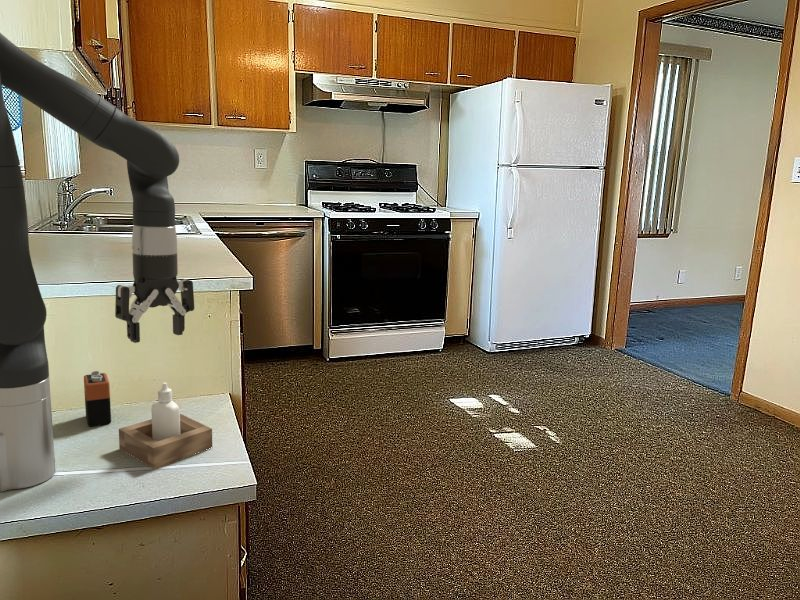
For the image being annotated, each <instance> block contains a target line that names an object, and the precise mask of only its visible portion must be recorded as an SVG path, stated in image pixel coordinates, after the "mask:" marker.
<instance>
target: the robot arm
mask: <svg viewBox="0 0 800 600" xmlns="http://www.w3.org/2000/svg"><path fill="white" fill-rule="evenodd" d="M2 86H3V87H5V88H6V89H9V90H10V91H12V92H14V93H16V94H17V95H19V96H20V97H22V98H24V99H25V100H27V101H29V103H32V104H33V105H35V106H37V108H40V110H42V111H43V112H45V113H47V114H48V115H49V116H51V117H53V118H54V119H56V120H57V121H59V122H60V123H62V125H63V124H64V126H66V127H68V128H69V129H71V130H73V131H74V132H76V133H77V134H79V135H80V136H81V137H83V138H85V139H87V140H88V141H90V142H91V143H93V144H94V145H96V146H98V147H100V148H102V149H105V150H107V151H110V152H113V153H114V154H117V155H119V156H120V157H121V158H123V159H124V160H126V169H127V176H128V181H129V186H130V192H131V196H132V236H131V237H132V238H131V250H132V276H133V279H134V280H133V284H132V285H122V284H118V285H116V287H115V303H114V305H115V312H114V316H115V318H116V319H119V320H121V321H125V322H126V336H127V337H126V338H128V339H129V340H130V342H131V343H134V344H137V343H140V342H141V333H140V332H141V331H140V329H141V328H140V322H139V320H140V318H141V317H143V314H145V313H146V312H147V310H148V309H149V308H151V309H152V308H157V307H159V306H161V307H165V306H166V307H167V306H168V307H169V309H170V310H171V311H172V312H173V313H174V314H172V333H173V335H176V336H183V332H185V328H186V327H185V324H186V323H185V322H186V321H185V318H186V316H185V315H186V314H187V313H189V312H194V310H195V296H194V295H195V294H194V282H193V281H192V280H190V279H187V278H181V279H180V280H177V276H178V274H179V273H178V271H179V270H178V236H177V232H176V205H175V198H174V197H173V196H172V194H171V193H170V191H169V182H168V181H169V179H168V177H169V176H171V175H173V174H174V173H175V172H176V170H177V169H178V168H179V165H180V154H179V151H178V150H177V148H176V146H175V145H174V144H173V142H171V141H170V140H169V139H168V138H167V137H165V136H163V135H162V134H160V132H157V131H156V130H155V129H152V128H150V127H149V126H147V125H145V124H143V123H141V122H140V121H139V120H137V119H136V120H135V118H131V117H130V116H128V115H127V114H126V113H124V112H123V111H122V110H120V109H119V108H118V107H116V106H115V105H114V104H112V103H111V102H109V101H107V100H106V99H105V98H103V97H102V96H100V95H99V94H98V93H96V92H94V91H93V90H91V89H90V88H88V87H87V86H85V85H84V84H81V83H80V82H78V81H77V80H75V79H73V78H70V77H68V76H67V75H65V74H63V73H62V72H59V71H57V70H55V69H53V68H52V67H50V66H48V65H46V64H44V63H43V62H41V61H39V60H38V59H37V58H34V57H32V55H29V54H28V53H26V52H25V51H24V50H22V49H21V48H20V47H19V46H17V45H16V44H14V43H13V42H12V41H11V40H9V39H8V38H7V37H6V36H5V35H4V34H3V33H1V32H0V492H5V491H9V490H18V489H25V488H29V487H34V486H37V485H40V484H42V483H44V482H46V481H47V480H50V479H51V478H52V477H53V476H54V475H55V473H56V457H55V455H56V454H55V443H54V431H53V430H54V429H53V428H54V427H53V415H52V414H53V413H52V398H51V383H50V382H51V381H50V368H49V358H48V354H47V348H46V346H47V345H46V339H45V323H46V320H47V315H48V314H47V307H46V303H45V302H44V299H43V296H42V294H41V291H40V287H39V284H38V281H37V277H36V273H35V269H34V266H33V262H32V258H31V251H30V242H29V222H28V221H29V219H28V209H27V200H26V191H25V184H24V179H23V175H22V174H23V173H22V169H21V162H20V158H19V157H20V156H19V154H18V149H17V145H16V140H15V136H14V133H13V129H12V125H11V121H10V118H9V117H10V116H9V115H8V111H7V107H6V104H5V99H4V94H3V88H2ZM178 290H179V292H180V300H181V301H180V300H179V299H178V297H177V296H176V293H177V291H178ZM132 295H135V298H134V299H133V301H132V303H131V304H130V298H132Z"/></svg>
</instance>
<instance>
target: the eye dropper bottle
mask: <svg viewBox="0 0 800 600" xmlns="http://www.w3.org/2000/svg"><path fill="white" fill-rule="evenodd" d="M180 412H181V411H180V407H179V406H178V404H177V403H176V402H174V401H173V389H172V388H169V386H168V383H167V382H162V384H161V388H160V389H158V390H157V400H156V401H154V402H153V403H152V405H151V419H152V439H154V440H156V441H161V440H164V439H167V438H170V437H173V436H176V435H179V434H180V414H181V413H180Z"/></svg>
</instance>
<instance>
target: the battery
mask: <svg viewBox="0 0 800 600" xmlns="http://www.w3.org/2000/svg"><path fill="white" fill-rule="evenodd" d="M83 387H84V392H83V393H84V406H85V417H86V424H87V426H88V427H95V426H102V425H103V426H104V425H108V424H109V425H110V424H111V422H112V410H111V390H110V389H111V388H110V381H109V378H108V375H107V373H105V372H103V373H102V372H100V371H98V370H93V371H91V374H85V375H84V376H83Z"/></svg>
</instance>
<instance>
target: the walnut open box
mask: <svg viewBox="0 0 800 600" xmlns="http://www.w3.org/2000/svg"><path fill="white" fill-rule="evenodd" d="M118 445H119V446H118V447H119V450H120V451H122V452H124V453H125V452H126V454H127V453H128V455H129V454H130V455H129V456H131V455H132V456H134V457H135V458H134V457H133V458H134V459H136V458H137V459H139V460H140V461H139V460H138V461H139V462H141V461H142V462H143V464H144V465H146V466H148V467H149V468H151V469H153V470H156V469H159V468H162V467H165V466H167V465H171V464H173V463H175V462H178V460H179V461H181V459H182V460H184V459H187V458H189V457H188V456H190V457H192V456H191V455H193V454H195V453H198V452H201V451H204V450H206V449H209V448H211V447H212V448H213V428H211V427H210V426H208V425H205V424H203V423H200V422H199V421H196V420H195V419H192V418H191V417H188V416H186V415H184V414H181V413H180V434H179V435H176V436H173V437H170V438H167V439H164V440H161V441H156V440H154V439H152V418H151V419H149V420H145V421H141V422H138V423H134V424H130V425H127V426H124V427H120V428H118ZM209 450H210V449H209ZM206 451H207V450H206ZM204 452H205V451H204ZM201 453H202V452H201ZM198 454H199V453H198ZM195 455H196V454H195ZM132 456H131V457H132ZM193 456H194V455H193ZM186 457H187V458H186ZM183 458H184V459H183ZM137 459H136V460H137ZM142 462H141V463H142Z"/></svg>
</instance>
